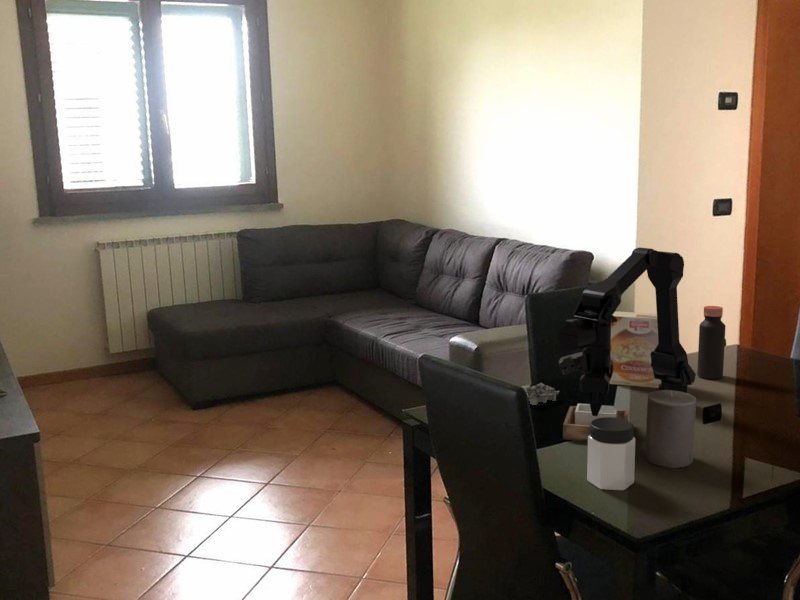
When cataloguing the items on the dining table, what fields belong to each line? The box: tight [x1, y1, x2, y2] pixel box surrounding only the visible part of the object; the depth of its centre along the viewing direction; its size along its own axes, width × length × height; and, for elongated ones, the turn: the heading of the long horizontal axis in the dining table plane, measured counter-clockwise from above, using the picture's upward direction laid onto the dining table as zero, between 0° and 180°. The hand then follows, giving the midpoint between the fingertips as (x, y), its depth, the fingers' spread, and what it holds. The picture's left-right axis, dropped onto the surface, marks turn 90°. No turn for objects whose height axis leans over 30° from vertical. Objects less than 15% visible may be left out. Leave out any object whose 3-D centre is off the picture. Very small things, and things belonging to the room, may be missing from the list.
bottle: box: [696, 305, 726, 381], centre depth 223 cm, size 7×7×20 cm
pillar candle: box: [644, 390, 697, 469], centre depth 165 cm, size 10×10×15 cm
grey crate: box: [575, 403, 618, 425], centre depth 183 cm, size 9×6×5 cm, turn 72°
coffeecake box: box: [609, 310, 661, 389], centre depth 218 cm, size 15×7×20 cm, turn 67°
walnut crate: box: [562, 405, 630, 442], centre depth 183 cm, size 14×14×4 cm
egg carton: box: [524, 382, 560, 405], centre depth 207 cm, size 11×8×4 cm
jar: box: [586, 417, 636, 491], centre depth 155 cm, size 9×8×12 cm
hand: (596, 409), depth 183 cm, fingers open, 9 cm apart
